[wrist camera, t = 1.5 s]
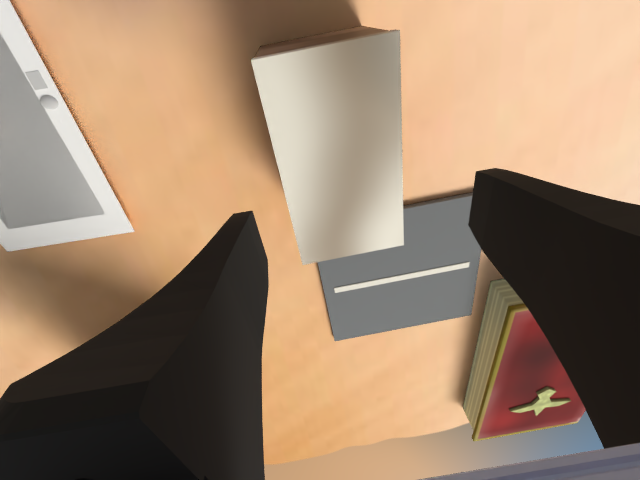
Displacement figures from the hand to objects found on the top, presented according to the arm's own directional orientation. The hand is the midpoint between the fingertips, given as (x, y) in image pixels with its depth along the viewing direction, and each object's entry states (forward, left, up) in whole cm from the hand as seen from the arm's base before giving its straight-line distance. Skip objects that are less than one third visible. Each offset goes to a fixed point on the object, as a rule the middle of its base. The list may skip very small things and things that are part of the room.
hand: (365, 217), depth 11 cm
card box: (0, 0, -10) cm, 10 cm away
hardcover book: (+17, -25, -10) cm, 32 cm away
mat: (+4, -12, -10) cm, 16 cm away
